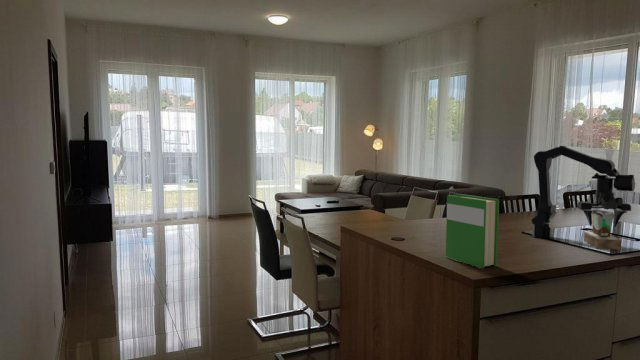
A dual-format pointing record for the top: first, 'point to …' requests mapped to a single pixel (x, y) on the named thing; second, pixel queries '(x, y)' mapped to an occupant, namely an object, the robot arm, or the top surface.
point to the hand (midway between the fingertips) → (602, 226)
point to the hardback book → (472, 229)
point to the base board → (602, 241)
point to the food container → (602, 223)
